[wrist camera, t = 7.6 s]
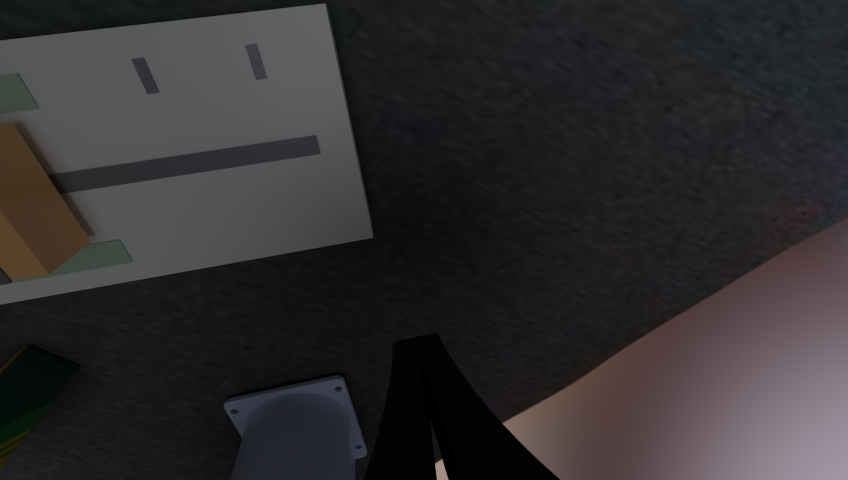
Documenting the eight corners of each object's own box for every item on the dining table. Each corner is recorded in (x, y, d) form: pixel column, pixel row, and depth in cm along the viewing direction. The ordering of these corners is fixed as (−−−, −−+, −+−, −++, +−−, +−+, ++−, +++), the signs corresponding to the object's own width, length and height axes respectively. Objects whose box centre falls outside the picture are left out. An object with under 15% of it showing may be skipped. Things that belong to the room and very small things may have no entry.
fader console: (371, 220, 20) (373, 238, 18) (-71, 297, 18) (-118, 326, 16) (328, 7, 15) (325, 3, 13) (-291, 78, 13) (-397, 85, 11)
